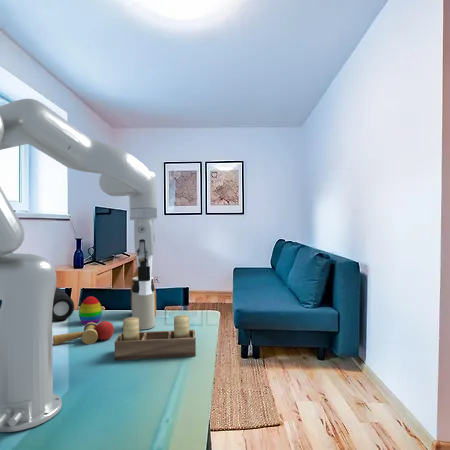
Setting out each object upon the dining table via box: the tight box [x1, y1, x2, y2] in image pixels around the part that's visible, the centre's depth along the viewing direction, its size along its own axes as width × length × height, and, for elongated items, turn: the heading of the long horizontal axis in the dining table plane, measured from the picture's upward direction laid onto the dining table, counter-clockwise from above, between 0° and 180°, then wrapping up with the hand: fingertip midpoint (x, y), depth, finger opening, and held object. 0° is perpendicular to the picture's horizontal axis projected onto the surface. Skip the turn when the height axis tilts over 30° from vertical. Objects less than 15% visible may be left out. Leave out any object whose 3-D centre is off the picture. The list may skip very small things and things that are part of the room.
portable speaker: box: [52, 287, 75, 322], centre depth 142 cm, size 26×10×10 cm, turn 33°
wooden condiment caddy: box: [114, 314, 197, 361], centre depth 99 cm, size 8×22×10 cm, turn 96°
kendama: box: [52, 320, 115, 346], centre depth 109 cm, size 8×6×18 cm
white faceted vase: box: [135, 250, 153, 295], centre depth 96 cm, size 5×4×15 cm
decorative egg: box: [78, 295, 103, 325], centre depth 130 cm, size 8×8×10 cm
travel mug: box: [131, 276, 156, 331], centre depth 124 cm, size 8×8×18 cm
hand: (145, 278), depth 97 cm, fingers closed on white faceted vase, 4 cm apart
